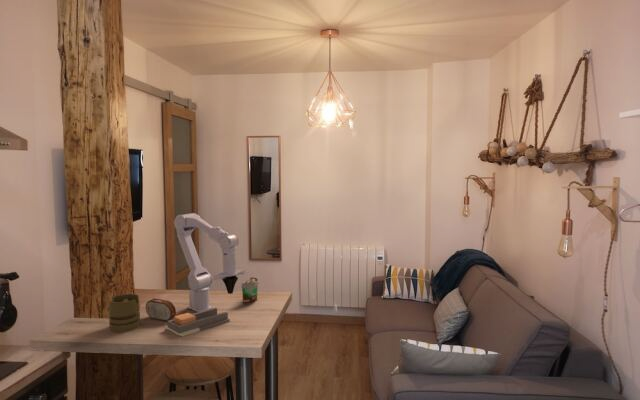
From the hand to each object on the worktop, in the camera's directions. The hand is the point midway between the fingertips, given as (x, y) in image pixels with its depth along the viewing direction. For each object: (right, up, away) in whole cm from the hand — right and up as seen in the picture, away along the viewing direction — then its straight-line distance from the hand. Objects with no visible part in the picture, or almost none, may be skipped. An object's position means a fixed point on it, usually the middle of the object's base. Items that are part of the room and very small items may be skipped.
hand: (230, 293), depth 185 cm
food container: (+7, -8, +19) cm, 22 cm away
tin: (-29, -10, -5) cm, 31 cm away
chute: (-11, -10, -12) cm, 19 cm away
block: (-15, -10, -16) cm, 24 cm away
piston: (-40, -11, -13) cm, 43 cm away
